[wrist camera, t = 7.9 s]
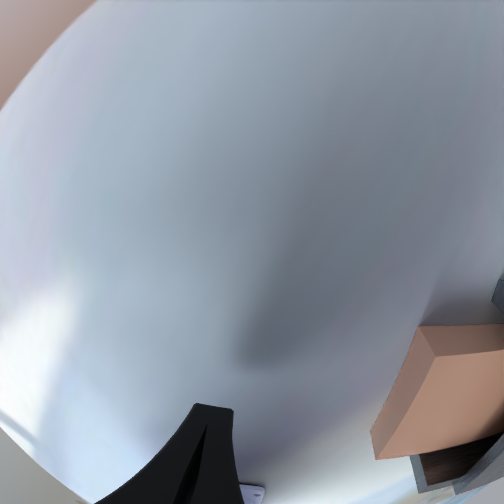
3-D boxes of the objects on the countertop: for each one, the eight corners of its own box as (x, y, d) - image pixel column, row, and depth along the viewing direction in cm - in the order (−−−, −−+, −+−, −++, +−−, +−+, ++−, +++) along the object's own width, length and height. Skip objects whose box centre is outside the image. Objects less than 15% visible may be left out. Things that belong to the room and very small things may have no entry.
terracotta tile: (514, 399, 12) (527, 421, 10) (368, 425, 13) (375, 460, 11) (561, 313, 10) (581, 334, 8) (414, 320, 11) (435, 356, 8)
